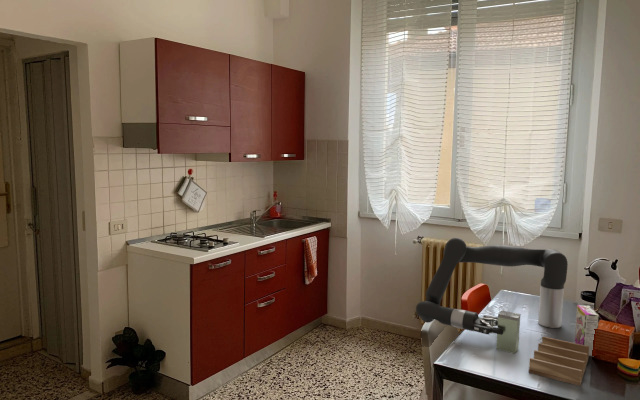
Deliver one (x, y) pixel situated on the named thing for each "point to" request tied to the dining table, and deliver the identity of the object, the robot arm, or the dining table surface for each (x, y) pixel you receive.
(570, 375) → the plate rack
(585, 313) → the candy bar box
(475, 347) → the dining table surface
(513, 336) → the tea tin
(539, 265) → the robot arm
